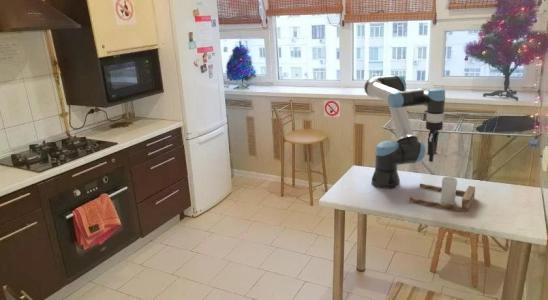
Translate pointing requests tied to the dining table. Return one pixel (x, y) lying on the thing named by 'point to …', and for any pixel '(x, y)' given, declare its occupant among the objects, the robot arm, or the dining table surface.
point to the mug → (448, 190)
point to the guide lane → (436, 204)
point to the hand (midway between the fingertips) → (431, 166)
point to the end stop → (468, 198)
